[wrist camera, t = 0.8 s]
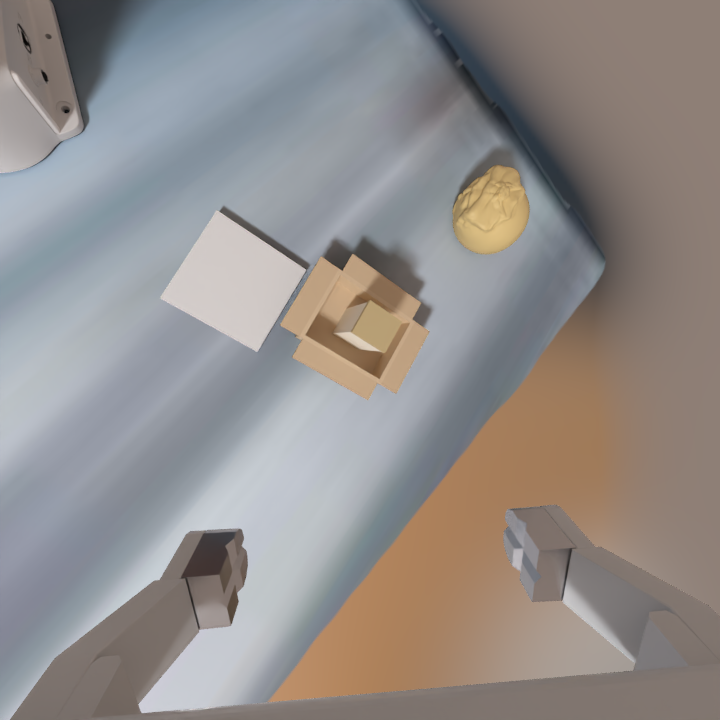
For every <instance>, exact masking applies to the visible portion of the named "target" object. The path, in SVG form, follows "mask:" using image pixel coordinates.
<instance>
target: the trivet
mask: <svg viewBox="0 0 720 720" xmlns="http://www.w3.org/2000/svg"><path fill="white" fill-rule="evenodd" d="M305 271H306V269H304V268H303V267H301V266H300V265H298V264H297V263H295V262H294V261H292V260H291V259H289V258H288V257H286V256H285V255H283V254H282V253H280V252H279V251H277V250H276V249H274V248H273V247H271V246H270V245H268V244H267V243H265V242H264V241H262V240H261V239H259V238H258V237H256V236H255V235H253V234H252V233H250V232H249V231H247V230H246V229H244V228H243V227H241V226H240V225H238V224H237V223H235V222H234V221H232V220H231V219H229V218H228V217H226V216H225V215H223V214H222V213H220V212H219V211H216V212H215V214H214V215H213V217H212V219H211V220H210V222H209V223H208V225H207V226H206V228H205V229H204V231H203V232H202V234H201V235H200V237H199V239H198V240H197V242H196V243H195V245H194V246H193V248H192V249H191V251H190V252H189V254H188V255H187V257H186V259H185V260H184V262H183V263H182V265H181V266H180V268H179V269H178V271H177V272H176V274H175V275H174V277H173V279H172V280H171V282H170V283H169V285H168V286H167V288H166V289H165V291H164V292H163V294H162V295H161V297H160V298H161V299H162V300H164V301H166V302H168V303H170V304H171V305H173V306H175V307H177V308H179V309H181V310H182V311H184V312H186V313H188V314H190V315H191V316H193V317H195V318H197V319H199V320H201V321H202V322H204V323H206V324H208V325H210V326H211V327H213V328H215V329H217V330H219V331H220V332H222V333H224V334H226V335H228V336H230V337H231V338H233V339H235V340H237V341H239V342H240V343H242V344H244V345H246V346H248V347H249V348H251V349H253V350H255V351H257V352H258V350H259V348H260V347H261V345H262V343H263V342H264V340H265V338H266V337H267V335H268V333H269V332H270V330H271V328H272V327H273V325H274V323H275V322H276V320H277V318H278V317H279V315H280V313H281V312H282V310H283V308H284V307H285V305H286V303H287V302H288V300H289V298H290V297H291V295H292V293H293V292H294V290H295V288H296V287H297V285H298V283H299V282H300V280H301V278H302V277H303V275H304V273H305Z"/></svg>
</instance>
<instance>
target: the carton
mask: <svg viewBox="0 0 720 720" xmlns="http://www.w3.org/2000/svg"><path fill="white" fill-rule="evenodd" d="M369 300H371V301H373V302H374V303H375V304H377V305H378V306H380V307H381V308H383V309H384V310H386V311H387V312H389V313H390V314H392V315H393V316H395V317H396V318H398V319H399V320H400V321H402V323H401V325H400V327H399V329H398V331H397V333H396V334H395V336H394V338H393V340H392V342H391V343H390V345H389V347H388V349H387V351H386V353H383V352H380V351H369V350H358V349H357V348H355V347H353V346H352V345H350V344H348V343H347V342H345V341H344V340H342V339H340V338H339V337H337V336H335V335H334V334H332V333H333V331H334V329H335V327H336V326H337V324H338V322H339V320H340V319H341V317H342V315H343V313H344V312H345V310H346V309H347V308H350V307H353V306H357V305H360V304H363V303H366V302H368V301H369ZM420 304H421V303H420V302H419V301H418V300H416V299H415V298H414V297H412V296H411V295H409V294H408V293H407V292H405V291H404V290H402V289H401V288H400V287H398V286H397V285H395V284H394V283H393V282H391V281H390V280H389V279H387V278H386V277H384V276H383V275H382V274H380V273H379V272H377V271H376V270H375V269H373V268H372V267H370V266H369V265H368V264H366V263H365V262H364V261H362V260H361V259H359V258H358V257H357V256H355V255H354V254H352V255H351V257H350V259H349V260H348V262H347V264H346V266H345V267H344V269H343V271H341V270H340V269H339V268H337V267H336V266H334V265H333V264H331V263H330V262H328V261H327V260H326V259H324V258H323V257H320V259H319V260H318V262H317V264H316V266H315V267H314V269H313V271H312V272H311V274H310V276H309V277H308V279H307V281H306V282H305V284H304V286H303V287H302V289H301V291H300V292H299V294H298V296H297V297H296V299H295V301H294V302H293V304H292V306H291V307H290V309H289V311H288V312H287V314H286V316H285V317H284V319H283V321H282V323H281V324H280V325H281V326H282V327H284V328H286V329H287V330H289V331H291V332H292V333H294V334H296V336H295V337H296V338H298V339H300V340H301V342H300V344H299V346H298V348H297V349H296V351H295V353H294V354H293V356H292V358H294V359H296V360H298V361H299V362H301V363H303V364H305V365H307V366H308V367H310V368H312V369H314V370H315V371H317V372H319V373H321V374H322V375H324V376H326V377H328V378H330V379H331V380H333V381H335V382H337V383H338V384H340V385H342V386H344V387H345V388H347V389H349V390H351V391H353V392H354V393H356V394H358V395H360V396H361V397H363V398H365V399H367V400H368V399H369V398H370V396H371V394H372V392H373V390H374V388H375V387H376V385H377V384H380V385H382V386H384V387H385V388H387V389H389V390H390V391H392V392H394V393H395V394H396V393H397V391H398V390H399V388H400V386H401V384H402V382H403V380H404V378H405V376H406V375H407V373H408V371H409V369H410V367H411V365H412V363H413V362H414V360H415V358H416V356H417V354H418V352H419V350H420V349H421V347H422V345H423V343H424V341H425V339H426V337H427V336H428V334H429V332H430V331H428V330H427V329H425V328H424V327H422V326H421V325H420V324H418V323H417V322H415V321H414V320H412V319H413V317H414V315H415V313H416V312H417V310H418V308H419V306H420Z"/></svg>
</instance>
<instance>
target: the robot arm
mask: <svg viewBox="0 0 720 720" xmlns="http://www.w3.org/2000/svg"><path fill="white" fill-rule="evenodd" d="M65 110H70V112H69V113H64V111H65ZM83 128H84V124H83V120H82V116H81V112H80V108H79V104H78V100H77V96H76V92H75V88H74V84H73V80H72V76H71V72H70V68H69V64H68V60H67V56H66V52H65V48H64V44H63V40H62V36H61V32H60V28H59V24H58V21H57V17H56V13H55V9H54V6H53V3H52V2H51V0H0V173H8V172H15V171H19V170H23V169H26V168H29V167H31V166H33V165H35V164H37V163H38V162H40V161H41V160H43V159H44V158H45V157H46V156H47V155H48V154H49V153H50V152H51V151H52V150H53V149H54V147H55V146H56V145H57V144H58V143H60V142H61V141H64V140H66V139H69V138H71V137H74V136H76V135H78V134H79V133H81V132H82V130H83ZM505 520H506V522H507V524H508V525H509V526H508V527H507V528H506V530H505V531H504V546H505V551H506V554H507V556H508V559H509V561H510V563H511V564H512V566H513V567H515V568H516V569H517V570H519V571H520V572H521V573H520V581H521V583H522V585H523V586H524V588H525V590H526V592H527V594H528V595H529V597H530V599H531V601H532V602H540V601H560V600H561V601H562V600H563V603H564V604H565V605H566V606H568V607H569V608H570V609H571V610H572V611H574V612H575V613H576V614H577V615H578V616H579V617H581V618H582V619H583V620H584V621H585V622H587V623H588V624H589V625H590V626H591V627H592V628H594V629H595V630H596V631H597V632H598V633H599V634H601V635H602V636H603V637H604V638H605V639H607V640H608V641H609V642H610V643H611V644H612V645H614V646H615V647H616V648H617V649H618V650H620V651H621V652H622V653H623V654H624V655H625V656H627V657H628V658H629V659H630V660H631V661H633V662H634V663H635V667H634V670H633V671H624V672H613V673H602V674H590V675H578V676H566V677H555V678H544V679H532V680H521V681H509V682H498V683H487V684H476V685H466V686H465V685H464V686H453V687H443V688H431V689H419V690H408V691H396V692H384V693H372V694H360V695H349V696H337V697H325V698H314V699H303V700H291V701H279V702H267V703H256V704H244V705H233V706H221V707H210V708H198V709H187V710H175V711H163V712H152V713H141V711H140V708H139V705H138V704H139V703H140V702H141V700H142V699H143V698H144V697H145V696H146V694H147V693H148V692H149V691H150V690H151V688H152V687H153V686H154V685H155V684H156V683H157V681H158V680H159V679H160V678H161V677H162V675H163V674H164V673H165V672H166V671H167V669H168V668H169V667H170V666H171V665H172V663H173V662H174V661H175V660H176V659H177V658H178V656H179V655H180V654H181V653H182V652H183V650H184V649H185V648H186V647H187V646H188V644H189V643H190V642H191V641H192V640H193V638H194V637H195V636H196V635H197V634H198V633H199V630H200V629H209V628H218V627H227V626H231V624H232V621H233V618H234V615H235V612H236V608H237V605H238V602H239V601H238V596H237V592H238V591H239V590H240V589H241V588H242V587H243V586H244V582H245V579H246V574H247V567H248V559H247V552H246V550H245V549H244V548H243V547H242V543H243V540H244V536H243V532H242V530H241V529H219V530H207V531H190V532H189V533H188V534H186V535H185V537H184V539H183V541H182V542H181V544H180V546H179V547H178V549H177V551H176V553H175V554H174V556H173V558H172V560H171V561H170V563H169V565H168V566H167V568H166V570H165V572H164V573H163V575H162V577H161V578H160V580H157V581H153V582H152V583H151V584H149V585H148V586H147V587H146V588H144V589H143V590H142V591H140V592H139V593H138V594H137V595H135V596H134V597H133V598H131V599H130V600H129V601H128V602H126V603H125V604H124V605H122V606H121V607H120V608H119V609H117V610H116V611H115V612H113V613H112V614H111V615H110V616H108V617H107V618H106V619H105V620H103V621H102V622H101V623H99V624H98V625H97V626H96V627H94V628H93V629H92V630H90V631H89V632H88V633H87V634H85V635H84V636H83V637H81V638H80V639H79V640H78V641H76V642H75V643H74V644H72V645H71V646H70V647H69V648H67V649H66V650H65V651H64V652H62V653H61V654H60V655H58V656H57V657H56V658H55V659H54V660H53V661H52V663H51V664H50V666H49V667H48V668H47V670H46V671H45V672H44V674H43V675H42V677H41V678H40V679H39V681H38V682H37V683H36V685H35V686H34V687H33V689H32V690H31V692H30V693H29V694H28V696H27V697H26V698H25V700H24V701H23V703H22V704H21V705H20V707H19V708H18V709H17V711H16V712H15V714H14V715H13V716H12V718H11V719H10V720H720V616H719V615H718V614H717V613H716V612H715V611H714V610H713V609H712V608H711V607H710V606H709V605H707V604H705V603H703V602H701V601H699V600H698V599H696V598H694V597H692V596H690V595H688V594H686V593H685V592H683V591H681V590H679V589H677V588H675V587H674V586H672V585H670V584H668V583H666V582H664V581H663V580H661V579H659V578H657V577H655V576H653V575H651V574H650V573H648V572H646V571H644V570H642V569H641V568H638V567H637V566H635V565H633V564H631V563H630V562H628V561H626V560H624V559H622V558H620V557H619V556H617V555H615V554H613V553H611V552H609V551H607V550H606V549H604V548H602V547H595V546H594V545H593V544H592V542H591V541H590V540H589V539H588V538H587V537H586V536H585V534H584V533H583V532H582V531H581V530H580V529H579V528H578V526H577V525H576V524H575V523H574V522H573V521H572V520H571V518H570V517H569V516H568V515H567V514H566V513H565V512H564V511H563V509H562V508H561V507H559V506H557V505H548V506H540V507H527V508H516V509H515V508H514V509H508V510H507V512H506V516H505Z"/></svg>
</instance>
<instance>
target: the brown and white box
mask: <svg viewBox="0 0 720 720" xmlns="http://www.w3.org/2000/svg"><path fill="white" fill-rule="evenodd" d="M401 323H402V321H400V320H399V319H398V318H396V317H395V316H393V315H392V314H390V313H389V312H387V311H386V310H384V309H383V308H381V307H380V306H378V305H377V304H375V303H374V302H373V301H371V300H369V301H368V302H366V303H363V304H360V305H357V306H353V307H350V308H347V309H346V310H345V312H344V313H343V315H342V317H341V319H340V320H339V322H338V324H337V326H336V327H335V329H334V331H333V333H332V334H334V335H335V336H337V337H339V338H340V339H342V340H344V341H345V342H347V343H348V344H350V345H352V346H353V347H355V348H357V349H358V350H369V351H380V352H383V353H386V351H387V349H388V347H389V345H390V343H391V342H392V340H393V338H394V336H395V334H396V333H397V331H398V329H399V327H400V325H401Z"/></svg>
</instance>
